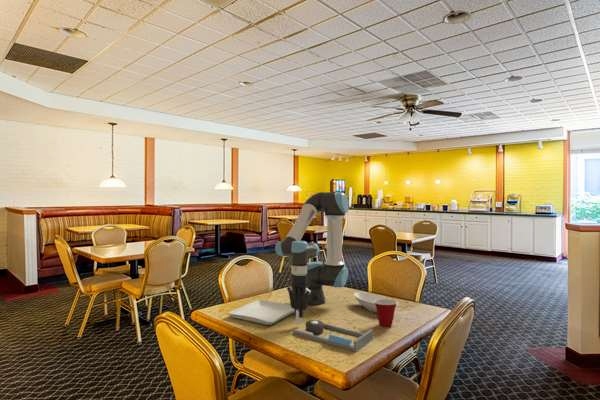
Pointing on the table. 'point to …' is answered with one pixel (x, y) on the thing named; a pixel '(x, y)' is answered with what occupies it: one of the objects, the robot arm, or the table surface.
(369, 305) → the bowl
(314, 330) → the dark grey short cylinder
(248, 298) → the table surface
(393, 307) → the plastic cup
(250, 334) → the table surface
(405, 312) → the table surface
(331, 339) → the gray u-shaped frame
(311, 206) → the robot arm
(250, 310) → the square plate
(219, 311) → the table surface
